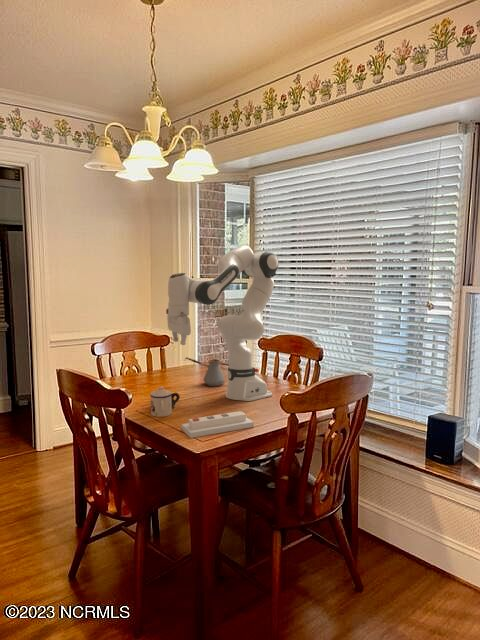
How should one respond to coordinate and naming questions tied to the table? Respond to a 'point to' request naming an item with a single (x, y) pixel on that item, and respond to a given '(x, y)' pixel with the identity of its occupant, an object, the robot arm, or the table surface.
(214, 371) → the coffee pot
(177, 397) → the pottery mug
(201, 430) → the plate
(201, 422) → the power strip
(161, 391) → the teacup with lid
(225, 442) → the table surface
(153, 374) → the table surface
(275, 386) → the table surface
